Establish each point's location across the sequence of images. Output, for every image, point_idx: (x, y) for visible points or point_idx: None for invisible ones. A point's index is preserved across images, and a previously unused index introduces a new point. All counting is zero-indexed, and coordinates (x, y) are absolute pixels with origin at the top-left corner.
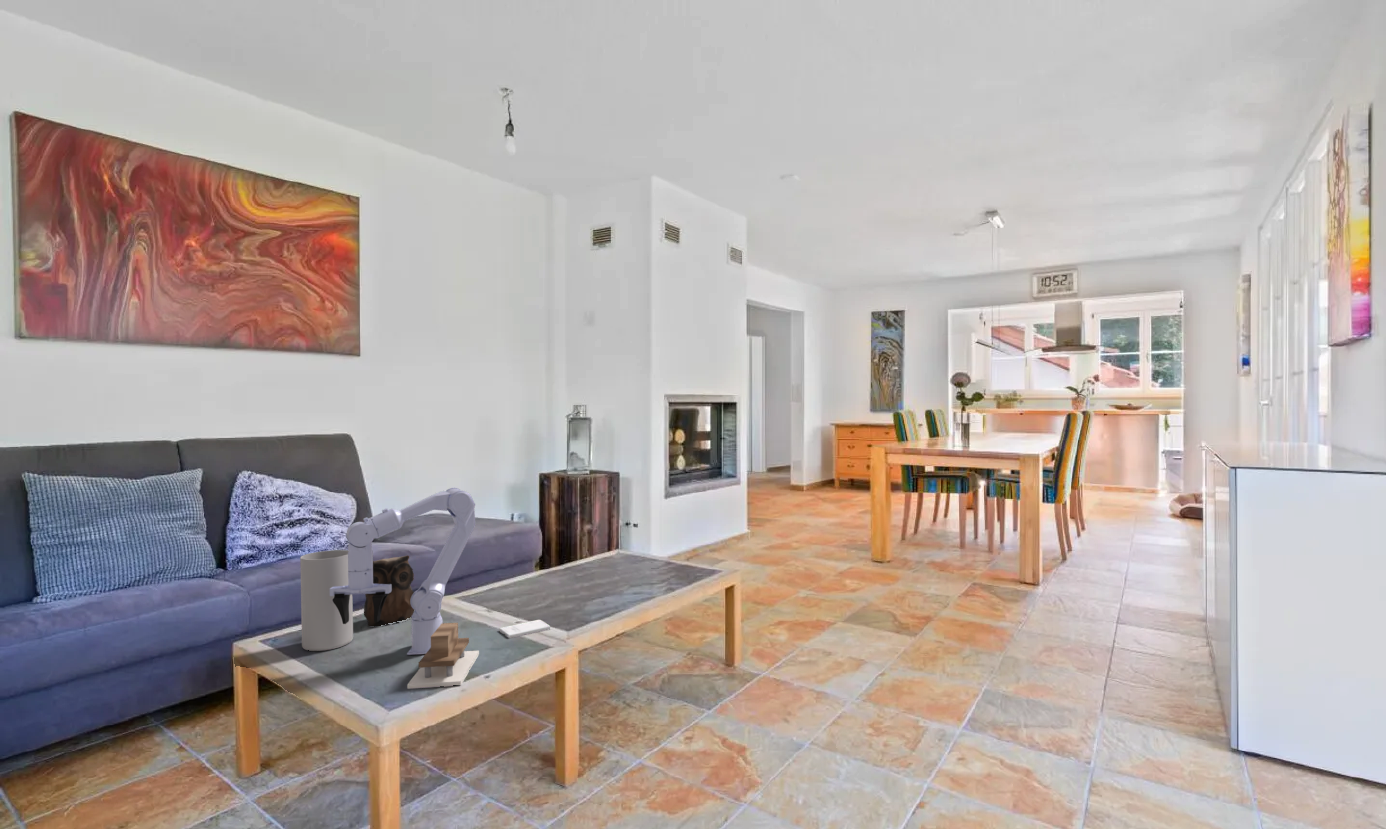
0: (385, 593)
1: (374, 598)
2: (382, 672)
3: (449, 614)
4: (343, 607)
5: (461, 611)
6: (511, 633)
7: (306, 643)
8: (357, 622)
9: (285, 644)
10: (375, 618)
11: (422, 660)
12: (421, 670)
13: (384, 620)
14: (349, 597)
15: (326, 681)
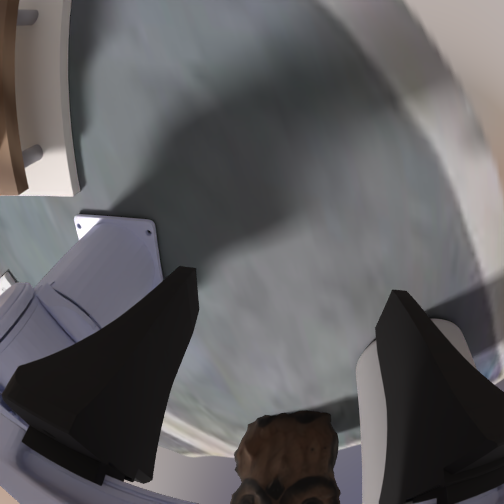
0: (20, 427)
1: (53, 401)
2: (181, 71)
3: (182, 417)
4: (439, 384)
5: (168, 419)
6: (4, 282)
7: (463, 337)
8: (351, 426)
9: (478, 361)
10: (174, 280)
11: (3, 4)
12: (52, 53)
13: (295, 422)
14: (385, 478)
15: (375, 32)
